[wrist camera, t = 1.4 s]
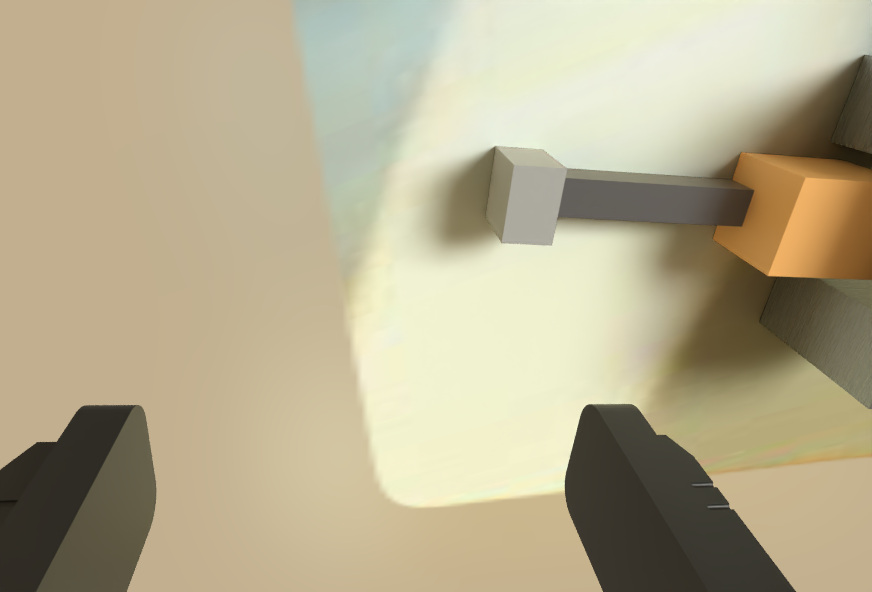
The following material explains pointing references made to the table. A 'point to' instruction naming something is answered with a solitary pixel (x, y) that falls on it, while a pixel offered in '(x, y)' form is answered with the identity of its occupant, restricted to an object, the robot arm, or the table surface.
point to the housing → (833, 285)
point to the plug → (703, 207)
